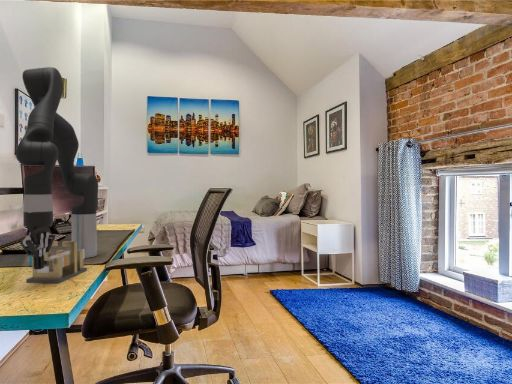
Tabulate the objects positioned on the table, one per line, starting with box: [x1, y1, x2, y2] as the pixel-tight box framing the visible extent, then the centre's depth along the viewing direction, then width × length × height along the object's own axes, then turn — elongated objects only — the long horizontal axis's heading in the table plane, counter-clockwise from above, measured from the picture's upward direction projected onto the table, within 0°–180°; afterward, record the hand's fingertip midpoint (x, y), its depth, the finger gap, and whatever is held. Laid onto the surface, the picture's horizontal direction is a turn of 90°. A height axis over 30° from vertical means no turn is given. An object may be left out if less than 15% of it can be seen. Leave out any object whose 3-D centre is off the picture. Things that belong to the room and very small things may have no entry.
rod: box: [37, 249, 86, 273], centre depth 122 cm, size 20×4×4 cm, turn 175°
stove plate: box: [25, 267, 88, 284], centre depth 120 cm, size 16×10×1 cm, turn 176°
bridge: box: [44, 240, 77, 273], centre depth 121 cm, size 2×10×10 cm, turn 85°
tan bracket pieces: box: [31, 249, 84, 279], centre depth 121 cm, size 14×8×6 cm, turn 176°
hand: (38, 268), depth 110 cm, fingers closed
